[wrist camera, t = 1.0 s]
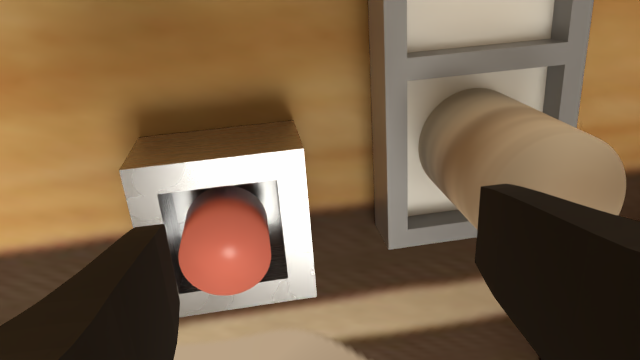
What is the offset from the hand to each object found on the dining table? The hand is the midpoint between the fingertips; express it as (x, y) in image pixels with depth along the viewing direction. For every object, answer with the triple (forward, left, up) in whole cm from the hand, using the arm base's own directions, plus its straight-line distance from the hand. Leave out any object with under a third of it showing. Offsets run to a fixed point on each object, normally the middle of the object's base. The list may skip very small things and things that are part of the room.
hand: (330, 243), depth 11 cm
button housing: (-3, +3, -10) cm, 10 cm away
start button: (-3, +3, -7) cm, 8 cm away
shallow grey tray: (+2, -7, -10) cm, 12 cm away
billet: (-1, -7, -8) cm, 11 cm away
